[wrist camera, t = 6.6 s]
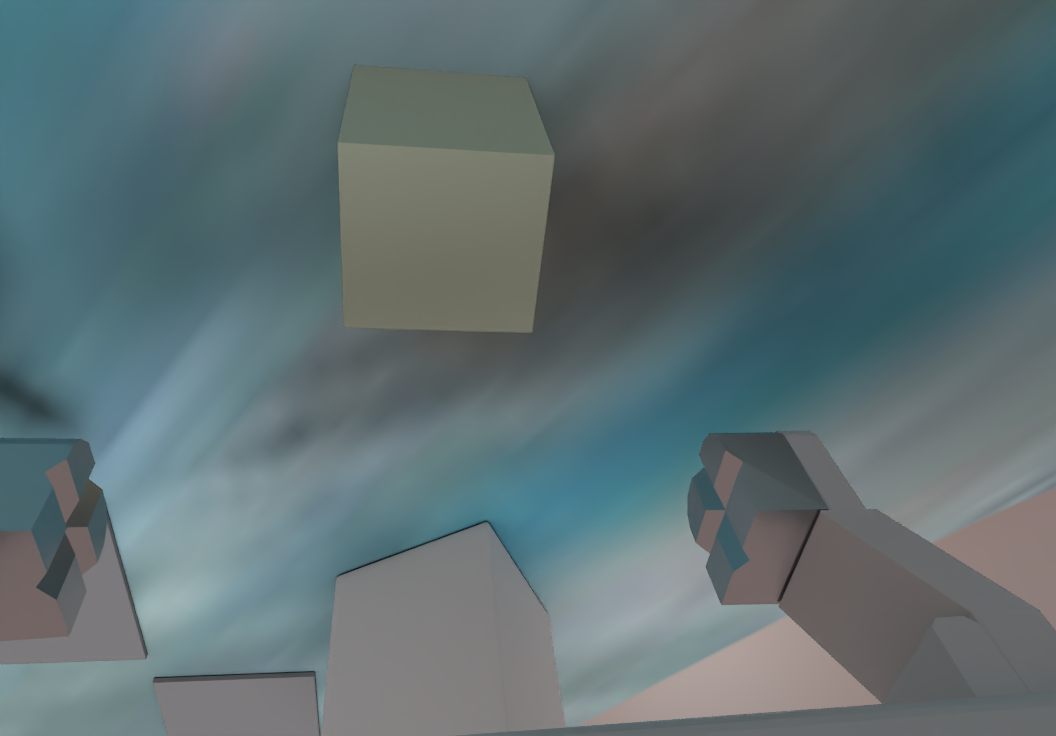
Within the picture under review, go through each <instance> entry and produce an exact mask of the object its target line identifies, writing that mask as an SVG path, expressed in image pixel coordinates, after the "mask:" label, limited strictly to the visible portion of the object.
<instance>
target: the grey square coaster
mask: <svg viewBox="0 0 1056 736" xmlns="http://www.w3.org/2000/svg"><path fill="white" fill-rule="evenodd" d="M153 686H154V689H155V693H156V696H157V700H158V703H159V707H160V710H161V714H162V717H163V721H164V724H165V728H166V731H167V735H168V736H320V730H319V718H318V706H317V694H316V682H315V672H302V673H276V674H250V675H224V676H198V677H172V678H154V680H153Z"/></svg>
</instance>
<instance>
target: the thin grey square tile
mask: <svg viewBox="0 0 1056 736" xmlns="http://www.w3.org/2000/svg"><path fill="white" fill-rule="evenodd" d="M82 578H83V581H84V584H85V587H86V591H87V592H86V595H85V597H84V600H83V602H82V605H81V607H80V610H79V613H78V615H77V618H76V620H75V623H74V625H73V628H72V631H71V633H70V636H67V637H53V638H40V639H26V640H12V641H0V664H28V663H57V662H86V661H114V660H143V659H146V658H147V651H146V648H145V644H144V641H143V637H142V634H141V630H140V626H139V623H138V619H137V616H136V612H135V609H134V605H133V602H132V598H131V594H130V591H129V587H128V584H127V580H126V577H125V573H124V570H123V566H122V562H121V559H120V555H119V552H118V548H117V545H116V541H115V538H114V534H113V530H112V527H111V523H110V520H109V516H108V513H107V528H106V535H105V543H104V546H103V549H102V552H101V555H100V558H99V560H98V563H97V564H95V565H94V566H93V567H91V568H90V569H89V570H88V571H86V572H85V573H84V574H82Z"/></svg>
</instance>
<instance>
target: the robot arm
mask: <svg viewBox="0 0 1056 736" xmlns="http://www.w3.org/2000/svg"><path fill="white" fill-rule="evenodd" d="M699 456H700V458H701V460H702V462H703V464H704V468H703V469H702V470H701V471H700V472H699V473H697V474H696V475H695V476H694V477H693V478H692V481H691V484H690V488H689V492H688V519H689V524H690V529H691V531H692V534H693V536H694V539H695V542H696V543H697V544H699V545H700V546H701V547H702V548H704V549H705V550H706V551H708V552H709V553H710V556H709V559H708V562H707V565H706V569H707V571H708V574H709V576H710V578H711V581H712V583H713V586H714V588H715V591H716V593H717V595H718V598H719V600H720V603H721V605H740V604H779V607H780V608H781V609H782V610H783V611H784V612H785V613H786V614H787V615H788V616H789V617H790V618H792V620H794V621H795V622H796V623H797V624H798V625H799V626H800V627H801V628H802V629H803V630H804V631H805V632H806V633H807V634H808V635H810V636H811V637H812V638H813V639H814V640H815V641H816V642H817V643H818V644H819V645H820V646H821V647H822V648H823V649H825V650H826V651H827V652H828V653H829V654H830V655H831V656H832V657H833V658H834V659H835V660H836V661H837V662H838V663H840V664H841V665H842V666H843V667H844V668H845V669H846V670H847V671H848V672H849V673H850V674H851V675H852V676H853V677H854V678H856V679H857V680H858V681H859V682H860V683H861V684H862V685H863V686H864V687H865V688H866V689H867V690H868V691H869V692H870V693H872V694H873V695H874V696H875V697H876V698H877V699H878V700H879V701H880V702H881V703H882V704H876V705H863V706H849V707H835V708H822V709H809V710H796V711H795V710H794V711H781V712H768V713H754V714H740V715H726V716H715V717H714V716H713V717H700V718H686V719H673V720H659V721H647V722H634V723H619V724H606V725H592V726H579V727H565V728H552V729H538V730H525V731H511V732H497V733H484V734H470V735H456V736H1056V631H1055V629H1054V628H1053V627H1052V625H1051V624H1050V623H1049V622H1048V621H1047V619H1046V618H1045V617H1044V615H1043V614H1042V613H1041V611H1040V610H1038V609H1037V608H1035V607H1034V606H1032V605H1030V604H1029V603H1027V602H1025V601H1024V600H1022V599H1020V598H1019V597H1017V596H1015V595H1014V594H1013V593H1011V592H1009V591H1008V590H1006V589H1005V588H1003V587H1001V586H1000V585H998V584H996V583H995V582H993V581H992V580H990V579H988V578H987V577H985V576H983V575H982V574H980V573H979V572H977V571H975V570H973V569H972V568H970V567H969V566H967V565H966V564H964V563H962V562H961V561H959V560H957V559H956V558H954V557H952V556H951V555H950V554H948V553H946V552H945V551H943V550H941V549H940V548H938V547H937V546H935V545H933V544H932V543H930V542H928V541H927V540H925V539H924V538H922V537H920V536H919V535H917V534H916V533H914V532H912V531H911V530H909V529H907V528H906V527H904V526H903V525H901V524H899V523H898V522H896V521H895V520H893V519H891V518H890V517H888V516H886V515H885V514H883V513H882V512H880V511H878V510H877V509H866V508H865V506H864V505H863V504H862V502H861V501H860V499H859V498H858V496H857V495H856V493H855V492H854V490H853V489H852V487H851V486H850V484H849V483H848V481H847V480H846V478H845V477H844V475H843V474H842V472H841V471H840V469H839V468H838V466H837V465H836V463H835V462H834V460H833V459H832V457H831V456H830V454H829V453H828V451H827V450H826V448H825V447H824V445H823V444H822V442H821V441H820V439H819V438H818V436H817V435H815V434H814V433H812V432H811V431H776V432H775V433H773V432H760V433H709V434H708V436H707V437H706V438H705V440H704V441H703V444H702V447H701V451H700V454H699ZM94 465H95V461H94V458H93V455H92V452H91V449H90V446H89V443H88V442H86V441H84V440H82V439H52V438H0V641H12V640H26V639H40V638H53V637H67V636H70V633H71V631H72V628H73V625H74V623H75V620H76V618H77V615H78V613H79V610H80V607H81V605H82V602H83V600H84V597H85V595H86V592H87V591H86V587H85V584H84V581H83V578H82V574H84V573H85V572H86V571H88V570H89V569H90V568H91V567H93V566H94V565H95V564H97V563H98V560H99V558H100V555H101V552H102V549H103V546H104V543H105V535H106V528H107V509H106V502H105V498H104V494H103V490H102V489H101V488H100V487H99V486H97V485H96V484H95V483H93V482H92V481H91V480H89V476H90V474H91V472H92V469H93V467H94Z"/></svg>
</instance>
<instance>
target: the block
mask: <svg viewBox="0 0 1056 736" xmlns="http://www.w3.org/2000/svg"><path fill="white" fill-rule="evenodd" d="M337 143H338V173H339V202H340V232H341V261H342V290H343V320H344V328H366V329H405V330H443V331H482V332H521V333H532V329H533V322H534V314H535V306H536V298H537V291H538V283H539V275H540V267H541V260H542V252H543V244H544V236H545V229H546V221H547V213H548V205H549V197H550V190H551V182H552V174H553V166H554V159H555V154H554V152H553V149H552V146H551V144H550V141H549V138H548V136H547V133H546V130H545V128H544V125H543V122H542V120H541V117H540V114H539V112H538V109H537V107H536V104H535V101H534V99H533V96H532V93H531V91H530V88H529V85H528V83H527V80H526V78H521V77H508V76H494V75H481V74H468V73H454V72H441V71H428V70H414V69H401V68H388V67H374V66H361V65H354V69H353V73H352V78H351V82H350V87H349V92H348V96H347V101H346V105H345V110H344V115H343V119H342V124H341V128H340V133H339V138H338V142H337Z"/></svg>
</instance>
